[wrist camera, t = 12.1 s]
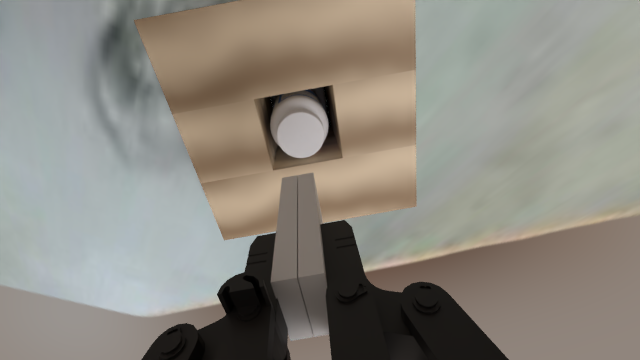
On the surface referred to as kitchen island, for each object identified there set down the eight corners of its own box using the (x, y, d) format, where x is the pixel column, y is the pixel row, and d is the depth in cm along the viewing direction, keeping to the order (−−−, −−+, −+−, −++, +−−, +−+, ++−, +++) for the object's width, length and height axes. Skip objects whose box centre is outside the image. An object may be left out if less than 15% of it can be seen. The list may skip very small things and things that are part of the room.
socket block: (184, 24, 29) (133, 20, 20) (378, -13, 29) (415, -33, 20) (241, 192, 38) (224, 240, 29) (388, 165, 38) (416, 206, 29)
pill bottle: (305, 140, 34) (309, 177, 25) (265, 116, 32) (254, 147, 23) (331, 101, 32) (345, 127, 23) (290, 73, 30) (289, 90, 22)
